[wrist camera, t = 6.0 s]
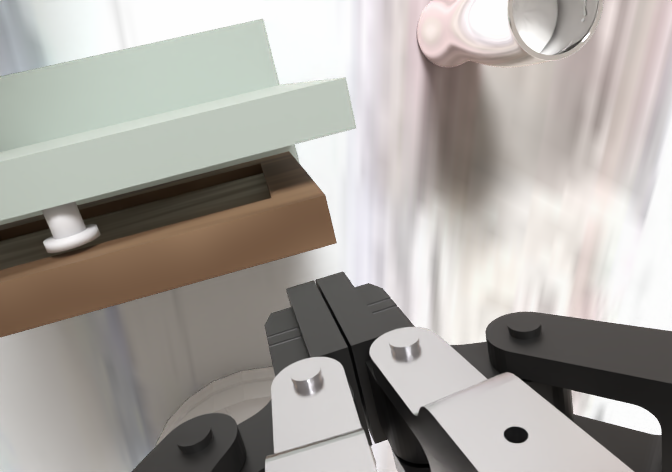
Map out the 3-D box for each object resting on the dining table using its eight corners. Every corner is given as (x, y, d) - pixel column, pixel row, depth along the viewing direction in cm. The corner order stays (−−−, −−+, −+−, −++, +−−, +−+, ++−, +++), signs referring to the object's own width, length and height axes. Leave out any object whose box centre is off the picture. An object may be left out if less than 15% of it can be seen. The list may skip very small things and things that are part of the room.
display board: (-55, 91, 37) (-480, 92, 14) (260, 22, 40) (315, -65, 18) (14, 240, 41) (-236, 425, 18) (296, 165, 44) (379, 241, 22)
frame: (-31, 233, 30) (-240, 347, 17) (289, 151, 32) (325, 195, 19) (-16, 263, 31) (-206, 395, 18) (296, 180, 33) (336, 243, 20)
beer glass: (406, 68, 44) (495, 57, 30) (417, -18, 42) (516, -72, 28) (477, 76, 46) (593, 70, 32) (490, -6, 44) (619, -52, 30)
